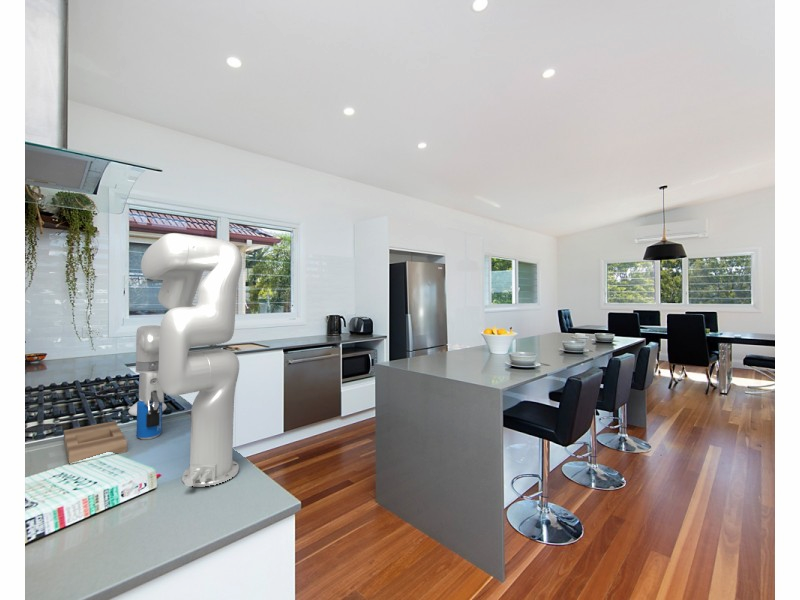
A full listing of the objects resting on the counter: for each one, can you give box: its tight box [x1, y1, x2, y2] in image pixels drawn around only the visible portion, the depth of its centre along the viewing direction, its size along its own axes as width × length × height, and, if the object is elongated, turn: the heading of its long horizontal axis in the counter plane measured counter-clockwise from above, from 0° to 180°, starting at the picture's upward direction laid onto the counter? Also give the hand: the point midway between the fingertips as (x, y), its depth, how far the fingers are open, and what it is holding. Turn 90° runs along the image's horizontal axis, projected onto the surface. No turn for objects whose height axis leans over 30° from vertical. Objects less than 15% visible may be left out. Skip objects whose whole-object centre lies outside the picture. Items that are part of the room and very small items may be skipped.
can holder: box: [63, 420, 128, 464], centre depth 105 cm, size 20×12×3 cm, turn 46°
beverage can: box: [135, 398, 163, 441], centre depth 113 cm, size 6×6×12 cm
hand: (149, 422), depth 113 cm, fingers open, 7 cm apart
